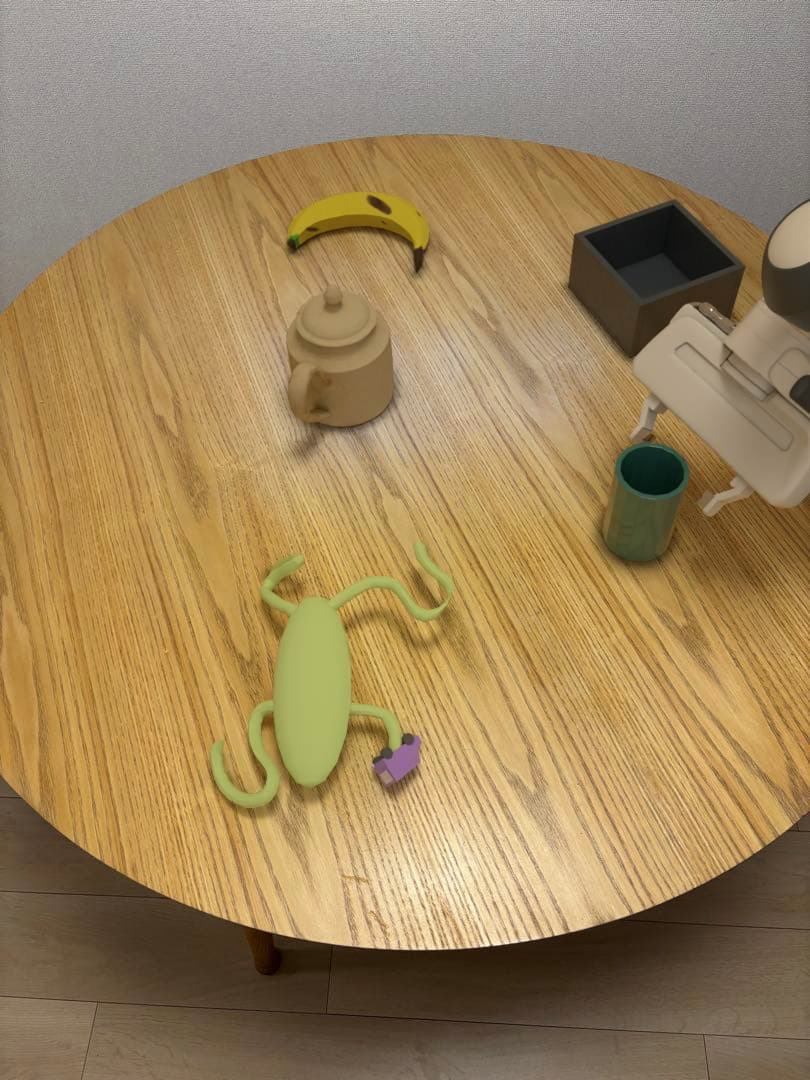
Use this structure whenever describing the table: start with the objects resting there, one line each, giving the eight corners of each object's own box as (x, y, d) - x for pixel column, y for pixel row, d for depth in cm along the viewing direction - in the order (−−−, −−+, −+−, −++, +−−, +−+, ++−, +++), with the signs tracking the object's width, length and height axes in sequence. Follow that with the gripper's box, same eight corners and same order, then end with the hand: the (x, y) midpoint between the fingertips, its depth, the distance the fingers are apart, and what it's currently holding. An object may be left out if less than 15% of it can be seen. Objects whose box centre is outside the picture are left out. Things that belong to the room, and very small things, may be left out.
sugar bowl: (401, 450, 106) (394, 347, 94) (297, 460, 106) (276, 357, 94) (390, 351, 115) (383, 244, 102) (295, 360, 114) (275, 254, 102)
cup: (658, 502, 101) (676, 437, 92) (679, 556, 97) (699, 493, 89) (594, 513, 100) (606, 448, 92) (612, 566, 96) (627, 504, 88)
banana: (273, 200, 125) (304, 289, 118) (405, 163, 126) (443, 250, 120) (279, 226, 129) (310, 314, 123) (407, 190, 130) (443, 275, 124)
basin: (664, 251, 123) (675, 198, 116) (730, 318, 115) (746, 266, 109) (567, 286, 120) (574, 233, 113) (629, 357, 112) (639, 306, 106)
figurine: (462, 572, 97) (462, 538, 92) (414, 840, 82) (411, 816, 77) (278, 548, 99) (270, 514, 95) (199, 804, 84) (184, 779, 80)
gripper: (681, 281, 90) (582, 401, 95) (852, 423, 79) (730, 548, 85) (709, 301, 95) (614, 413, 100) (873, 437, 84) (757, 555, 89)
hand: (668, 476), depth 92 cm, fingers open, 8 cm apart
